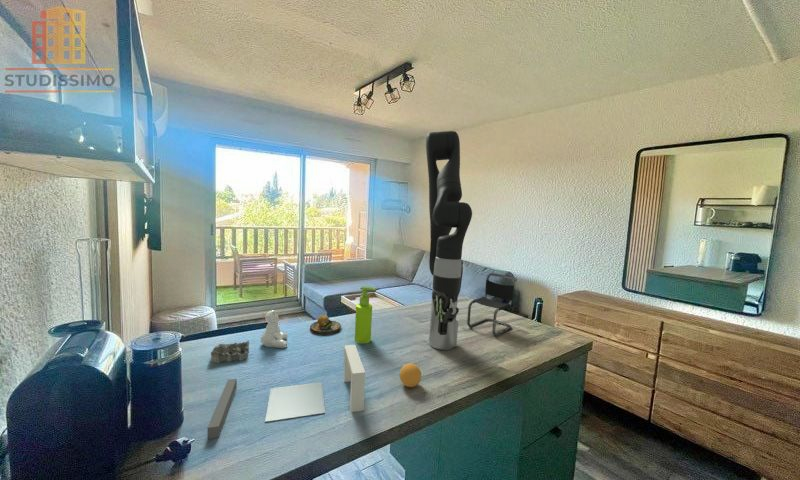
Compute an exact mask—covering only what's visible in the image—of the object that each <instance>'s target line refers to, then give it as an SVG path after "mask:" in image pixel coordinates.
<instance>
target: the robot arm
mask: <svg viewBox="0 0 800 480" xmlns="http://www.w3.org/2000/svg"><path fill="white" fill-rule="evenodd" d="M460 143H461V142H460V137H459V134H458V132H457V131H455V130H444V131H435V132H434V131H433V132H428V133H427V135H426V138H425V150H426V151H425V152H426V163H427V174H428V201H429V202H428V206H429V210H428V211H429V222H430V223H429V227H430V228H429V229H430V232H429V233H430V242H429V243H430V245H429V246H430V247H429V261H428V262H429V264H428V265H429V267H428V268H429V271H430V274H431V276H432V293H431V307H430V324H429V336H428V344H429V346H430V347H432V348H433V349H437V350H439V351H440V350H442V351H449V350H452V349H454V348H457V343H458V333H459V332H458V331H459V321H458V320H457V315H458V314H459V313H460V311H459V310H460V308H459V307H458V300H459V299H458V298H459V294H460V292H461V289H462V288H461V287H462V281H463V274H464V273H463V272H464V269H463V268H464V266H463V262H462V255H463V247H464V246H463V244H464V240H465V237H466V234H467V231H468V228H469V226H470V224H471V221H472V218H473V209H472V207H471V205H470V204H469V203H467V202H462V201H461V199H462V197H463V189H462V184H461V176H460V173H461V171H460V169H461V145H460ZM437 161H447V162H446V164H445V165H444V166H443V167H442V168H441V170H439V168H438V164H437ZM460 201H461V202H460ZM453 228H454V229H455V230H454V232H453V233H451V232H452V229H453ZM450 233H451V234H450Z"/></svg>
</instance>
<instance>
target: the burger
mask: <svg viewBox="0 0 800 480" xmlns="http://www.w3.org/2000/svg"><path fill="white" fill-rule="evenodd" d="M341 328H342V325H341V323H340V322H337V321H336V320H330V319H329V316H328V315H326V314H325V315H321V314H320V316H319V317H318V318H317V321H315V322H313V323H311V324H310V327H309V331H310V333H312V334H315V335H320V336H327V335H333V334H337V333H339V332H340V329H341Z"/></svg>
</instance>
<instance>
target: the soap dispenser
mask: <svg viewBox="0 0 800 480" xmlns="http://www.w3.org/2000/svg"><path fill="white" fill-rule="evenodd" d="M376 289H377V288H375V287H372V286H361V287H360V290H361V295H359V303H357V304H356V305H355V323H354V325H355V326H354V341H355V343H357V344H364V345H365V344H368V343H370V342H371V340H372V325H373V324H372V323H373V319H372V317H373V305H372V304H371V303H370V295H368V291H372V292H375V291H376Z"/></svg>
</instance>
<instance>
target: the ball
mask: <svg viewBox="0 0 800 480" xmlns="http://www.w3.org/2000/svg"><path fill="white" fill-rule="evenodd" d="M399 378H400V382H401V383H402V384H403V385H404V386H405V387H408V388H414V387H416V386H417V385H419V383H420V382H421V380H422V371H421V369H420V368H419V366H418V365H416V364H414V363H411V362H410V363H407V364H404V365H403V366H402V367H401V369H400V371H399Z"/></svg>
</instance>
